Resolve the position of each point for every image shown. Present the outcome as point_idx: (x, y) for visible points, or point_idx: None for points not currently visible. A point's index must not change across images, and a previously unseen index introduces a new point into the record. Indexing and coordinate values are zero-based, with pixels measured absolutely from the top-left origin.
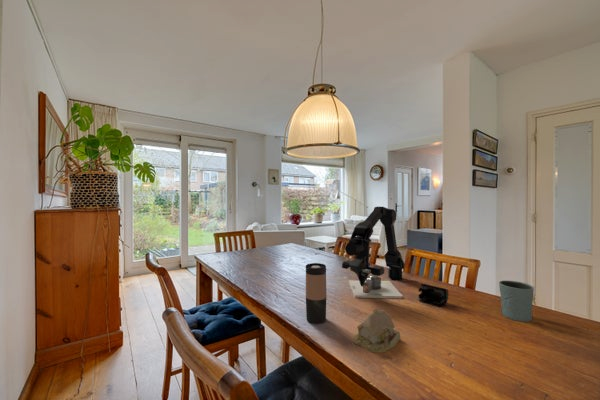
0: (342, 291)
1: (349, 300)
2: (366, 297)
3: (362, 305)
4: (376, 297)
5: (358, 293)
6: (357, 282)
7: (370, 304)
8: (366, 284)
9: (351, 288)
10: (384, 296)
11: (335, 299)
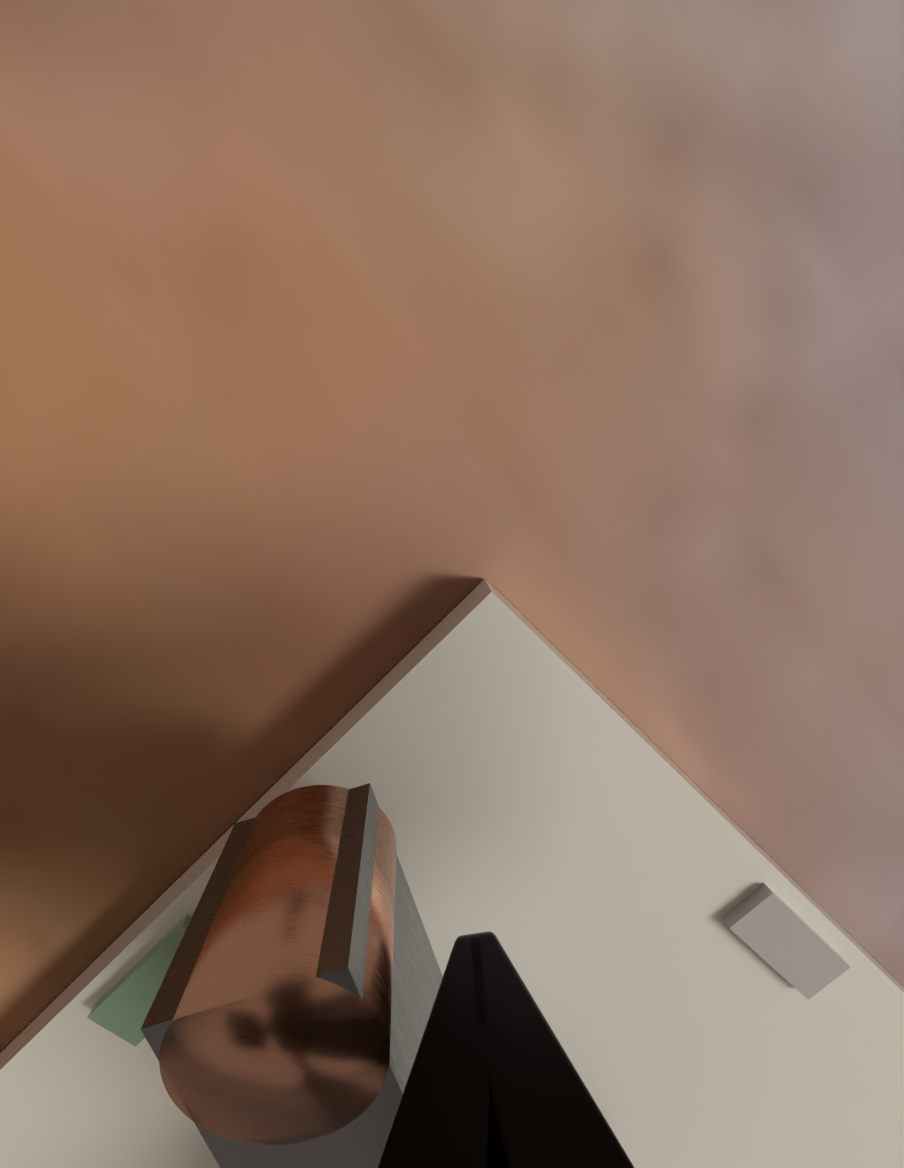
0: (880, 658)
1: (475, 346)
2: (309, 751)
3: (74, 327)
4: (173, 889)
5: (505, 744)
6: (853, 1157)
7: (8, 521)
8: (267, 1060)
9: (809, 896)
10: (54, 1009)
11: (762, 120)
